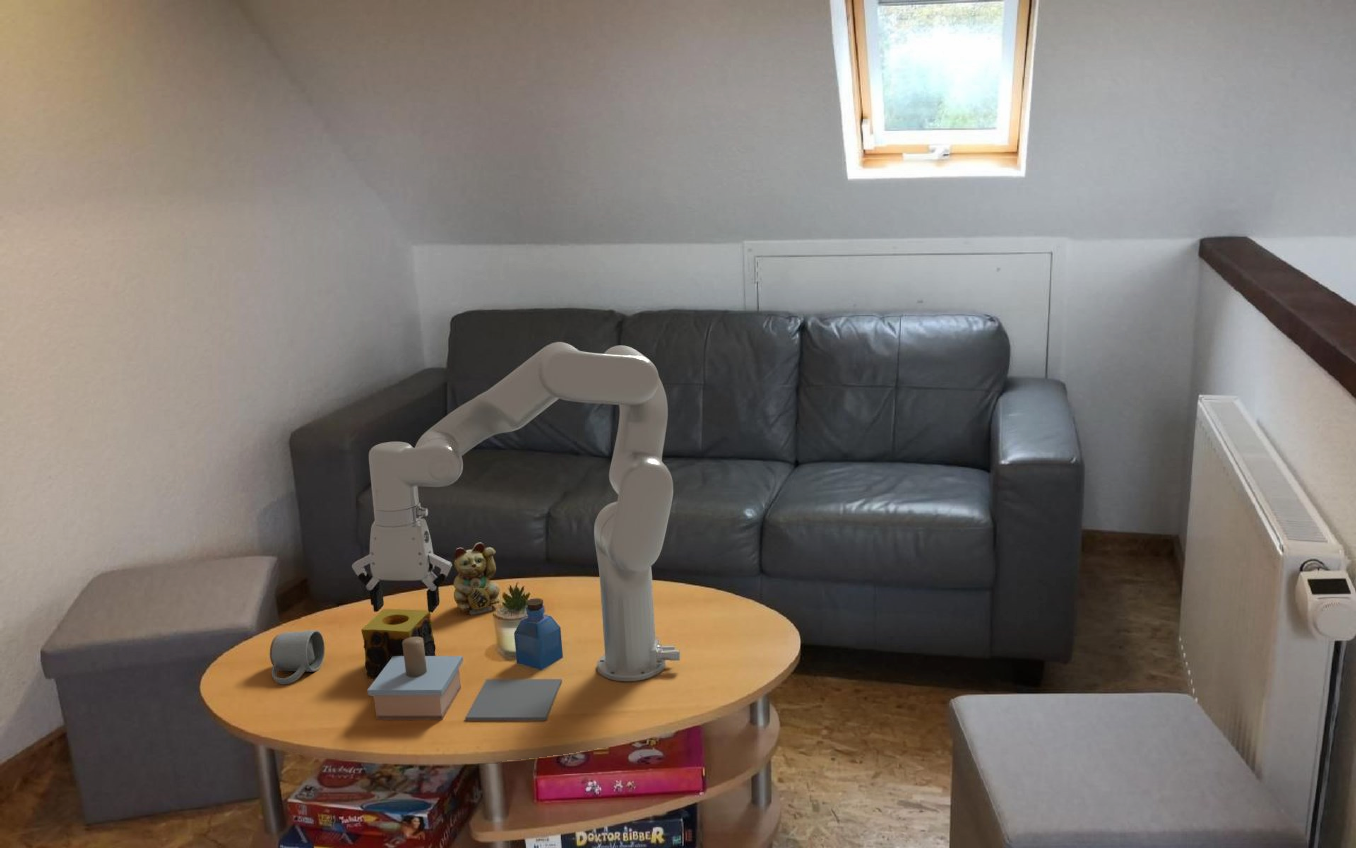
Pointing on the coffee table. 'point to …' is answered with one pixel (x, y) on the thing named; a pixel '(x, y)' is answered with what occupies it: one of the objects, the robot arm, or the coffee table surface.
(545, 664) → the perfume bottle
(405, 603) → the coffee table surface
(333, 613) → the coffee table surface
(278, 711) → the coffee table surface
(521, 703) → the mat
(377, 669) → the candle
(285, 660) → the ceramic mug
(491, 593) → the decorative figurine
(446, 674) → the lid
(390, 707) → the dish
